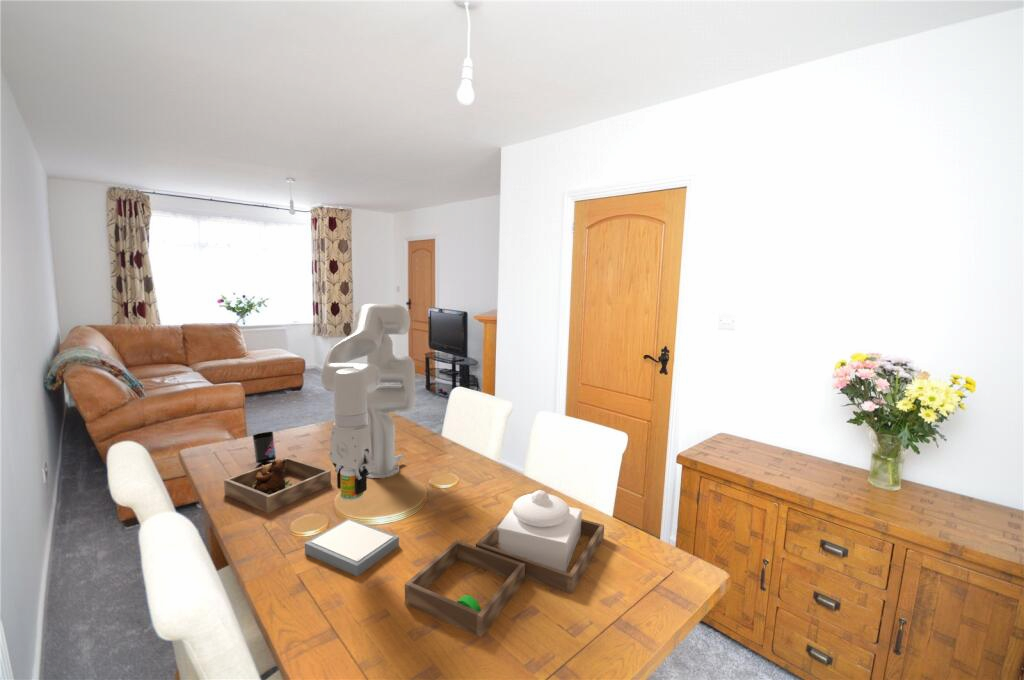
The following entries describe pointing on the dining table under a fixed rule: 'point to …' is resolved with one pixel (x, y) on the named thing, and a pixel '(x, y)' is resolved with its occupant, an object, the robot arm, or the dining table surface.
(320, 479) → the brown wooden tray
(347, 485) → the supplement bottle
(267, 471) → the bear figurine
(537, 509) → the butter dish
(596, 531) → the dish tray frame
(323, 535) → the plinth
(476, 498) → the dining table surface
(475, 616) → the tray
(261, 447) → the supplement container
